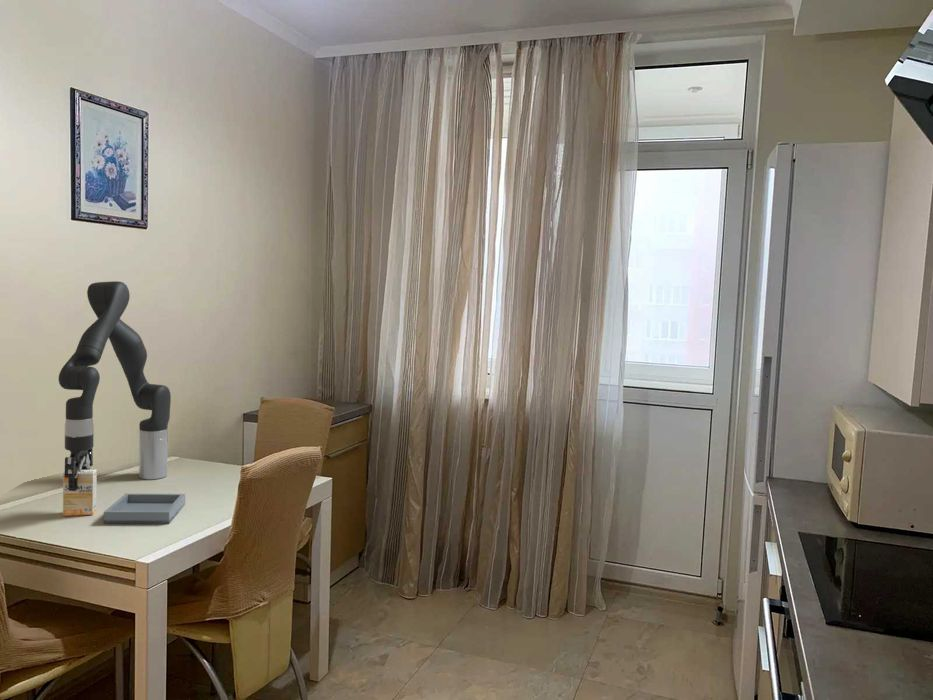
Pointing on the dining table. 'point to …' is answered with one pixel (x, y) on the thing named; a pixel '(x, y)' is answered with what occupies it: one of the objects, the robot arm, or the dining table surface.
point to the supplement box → (80, 494)
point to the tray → (144, 509)
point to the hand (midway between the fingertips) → (79, 486)
